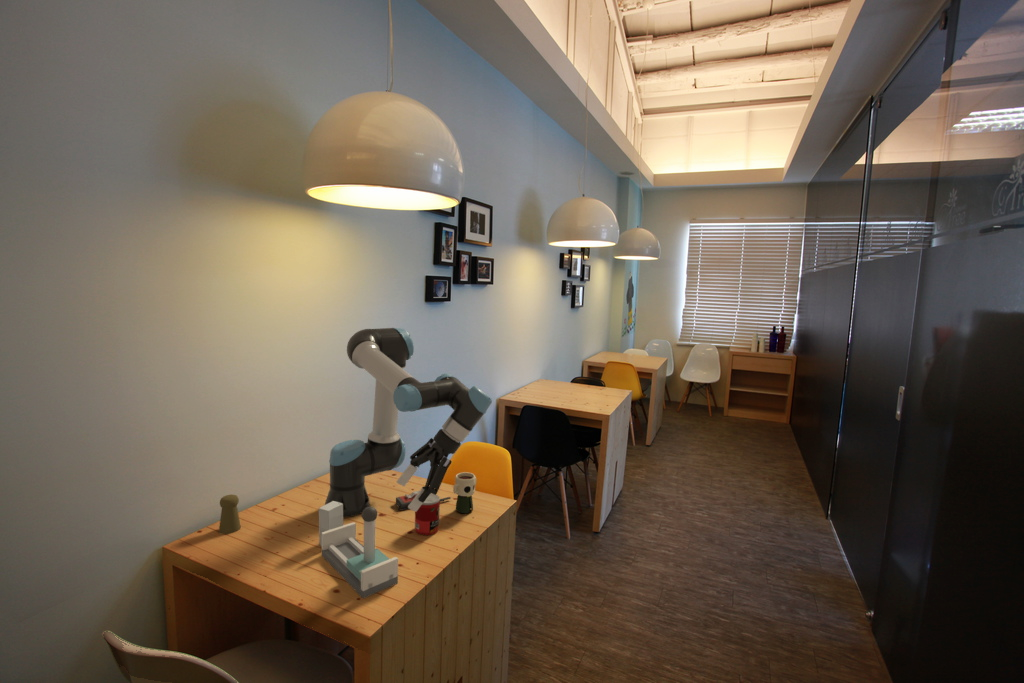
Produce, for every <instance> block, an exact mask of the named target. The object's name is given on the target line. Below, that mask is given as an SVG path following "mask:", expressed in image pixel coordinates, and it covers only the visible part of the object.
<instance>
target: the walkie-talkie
mask: <svg viewBox="0 0 1024 683" xmlns="http://www.w3.org/2000/svg"><path fill="white" fill-rule="evenodd" d="M419 491H420V490H415V491H413V492H411V493H410V494H405V495H402V496H396V497H395V505H396V506H397V509H398V511H400V510H401V511H405V510H406V511H407V510H410V509H409V508H408V506H409V504H410V503H411V502H412V500H413V499H414V498H415V496H416V495H417V494H418V492H419ZM451 499H452V497H451V496H448V497H443V498H440V503H442V502H445V501H447V500H451Z"/></svg>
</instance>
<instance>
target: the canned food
mask: <svg viewBox="0 0 1024 683" xmlns="http://www.w3.org/2000/svg"><path fill="white" fill-rule="evenodd" d="M440 499H441V498H440V496H439V495H438V494H436V495H434V494H432V493H431V494H430V495H429V496H428V497H427V499H426V500H425V501H424V502H423V503H422V505H421V506H420V507H419V509H418V510H417V511H416V512H415V511H414V530H415V532H416V533H417V534H419V535H421V536H431V535H435V534H437V532H438V531H439V528H440V508H441V507H440V506H441V505H440V504H441V502H440Z"/></svg>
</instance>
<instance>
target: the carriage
mask: <svg viewBox="0 0 1024 683" xmlns="http://www.w3.org/2000/svg"><path fill="white" fill-rule="evenodd" d="M377 517H378V511H377V509H376V508H375V507H374V506H370V505H369V507H366V508H365V509H364V510H363V512H362V513H361V518H362V520H363V546H364V554H361V555H358V556H356V557H353V558H350V559H348V560H347V568H348V569H349V570H350V571H351V572H352V573H353V574H354V575H355V576H356V577H357V578H358V579H359V580H360V581H361V570H364V569H366V568H369V567H371V566H374V565H376V564H379V563H381V562H384V561H386V560H389V559H390V558H389V557H388V556H387V555H386V554H384V553H383V552H382V551H381V550H380V549H379V548H376V519H377Z"/></svg>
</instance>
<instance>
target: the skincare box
mask: <svg viewBox="0 0 1024 683" xmlns="http://www.w3.org/2000/svg"><path fill="white" fill-rule="evenodd" d="M343 525H344V517H343V504H342V503H339V502H336V501H332V502H330V503H328V504H326V505H325V504H323V505H322V506H321V507H318V537H319V538H318V542H319V543H318V545H319V546H321V547H322V532H325V531H328V530H331V529H334V528H337V527H340V526H343Z"/></svg>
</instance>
